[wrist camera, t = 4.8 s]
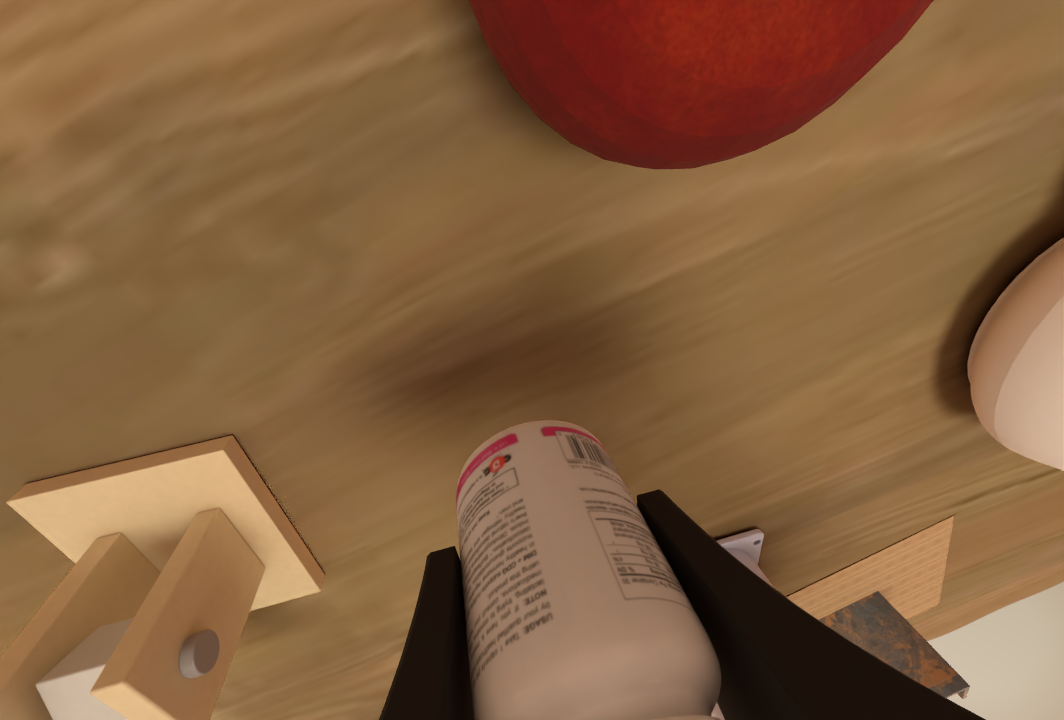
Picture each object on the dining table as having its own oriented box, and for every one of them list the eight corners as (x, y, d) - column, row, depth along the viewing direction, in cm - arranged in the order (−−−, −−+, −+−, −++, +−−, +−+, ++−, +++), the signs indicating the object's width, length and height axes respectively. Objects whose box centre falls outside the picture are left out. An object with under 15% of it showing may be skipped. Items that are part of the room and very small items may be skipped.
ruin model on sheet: (718, 709, 44) (785, 845, 36) (681, 648, 36) (758, 806, 28) (938, 604, 43) (1060, 718, 35) (954, 515, 35) (1119, 637, 26)
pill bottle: (475, 547, 14) (525, 994, 7) (436, 440, 12) (449, 957, 4) (611, 507, 15) (792, 885, 7) (600, 396, 12) (856, 797, 5)
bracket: (325, 574, 23) (282, 757, 16) (169, 617, 22) (57, 829, 15) (232, 434, 18) (116, 617, 11) (26, 483, 17) (-233, 713, 10)
